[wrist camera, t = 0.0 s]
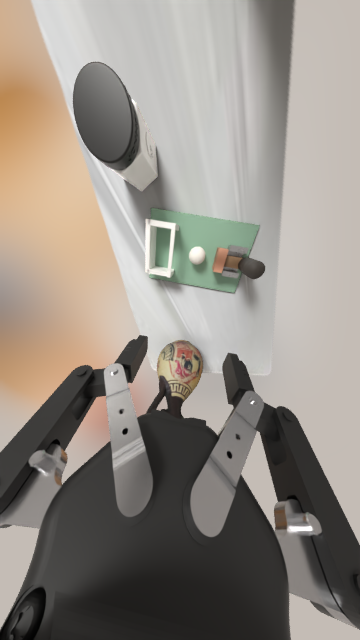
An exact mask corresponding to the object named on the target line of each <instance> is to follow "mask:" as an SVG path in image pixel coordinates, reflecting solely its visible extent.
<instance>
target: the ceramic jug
mask: <svg viewBox="0 0 360 640" xmlns="http://www.w3.org/2000/svg"><path fill="white" fill-rule="evenodd" d="M202 368H203V361H202V357H201V354H200V352H199V351H198V349H197V348H196V347H194V346H193V345H192V344H191V343H189V342H188V341H185V340H178V341H175V342H173V343H170V344H168V345H167V346H166V347H165V348H164V349H163V350H162V351H161V353H160V355H159V358H158V363H157V372H158V378H159V390H160V392H159V393H158V395H157V397H156V398H155V399H154V401H153V403H152V404H151V406H150V407H149V409H148V411H147V413H151V411H152V409H155V410H156V408H157V406H158V404H159V403H160V402H161V400H162V399H163V397H164V396H166V400H167V404H168V409H166V410H165V409H162V410H161V411H164V412H166V413H168V414H170V415H172V416H174V417H175V418H177V419H184V418H183V416H182V415H181V406H182V403H183V402H184V401H185V400H186V399H187V398H188V396H189V395H190V394H191V393H192V391H193V390H194V388H195V387H196V386H197V384H198V382H199V380H200V377H201V373H202ZM147 413H146V414H147Z"/></svg>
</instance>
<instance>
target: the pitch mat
mask: <svg viewBox="0 0 360 640" xmlns="http://www.w3.org/2000/svg"><path fill="white" fill-rule="evenodd" d="M151 220H157V221H163V222H169V223H176V224H177V225H179V231H177V230H175V240H174V249H173V259H172V269H174V274H173V275H172V276H171V277H170V278H168V277H166V276H161V275H155V274H150V278H155V279H160V280H166V281H171V282H177V283H182V284H188V285H193V286H199V287H205V288H210V289H216V290H221V291H227V292H232V293H235V290H236V287H237V285H238V282H239V279H240V277H241V274H242V272H241V271H240V270H239V269H238V270H237V272H238V273H239V276H238V279H237V278H232V277H226V276H222V275H221V274H220V273H218V272H213V270H212V266H213V262H214V258H215V255H216V251H217V247H220V248H226V249H227V248H228V245H234V246H240V247H246V248H249V249H248V251H247V254H244V253H243V256H242V258H245V257H248V255H249V253H250V250H251V247H252V245H253V242H254V239H255V237H256V234H257V231H258V229H259V226H260V225H254V224H248V223H242V222H236V221H230V220H223V219H217V218H211V217H205V216H199V215H193V214H186V213H180V212H174V211H168V210H162V209H156V208H151ZM170 238H171V229H165V228H159V227H157V232H156V256H155V266H158V267H164V268H168V260H169V249H170ZM194 247H201V248H203V249H204V251H205V259H204V261H203V262H202V263H201V264H198V265H196V264H193V263H192V262H191V261H190V259H189V253H190V251H191V249H192V248H194Z"/></svg>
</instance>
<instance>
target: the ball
mask: <svg viewBox="0 0 360 640" xmlns="http://www.w3.org/2000/svg"><path fill="white" fill-rule="evenodd" d="M189 259H190V261H191V262H192V263H193V264H196V265H198V264H201V263H202V262H203V261H204V259H205V251H204V249H203V248H201V247H194V248H192V249H191V251H190V253H189Z"/></svg>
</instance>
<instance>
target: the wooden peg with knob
mask: <svg viewBox="0 0 360 640" xmlns="http://www.w3.org/2000/svg"><path fill="white" fill-rule="evenodd" d="M228 251H229V250H228V249H226V248H220V247H217V251H216V255H215V258H214V262H213V266H212V270H213V272H218V273H222V271H223V267H229V268H235V269H239V270H240V271H241V272H243V273H244V274H245V275H246V276H248V277H249V278H251V279H257V278H259V277H260V276H262V274H263V273H264V271H265V265H264V264H263V263H262V262H260V261H257V260H254V259H252V258H249V257H245V258H242V257H236V256H230V255H227V254H228Z"/></svg>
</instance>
